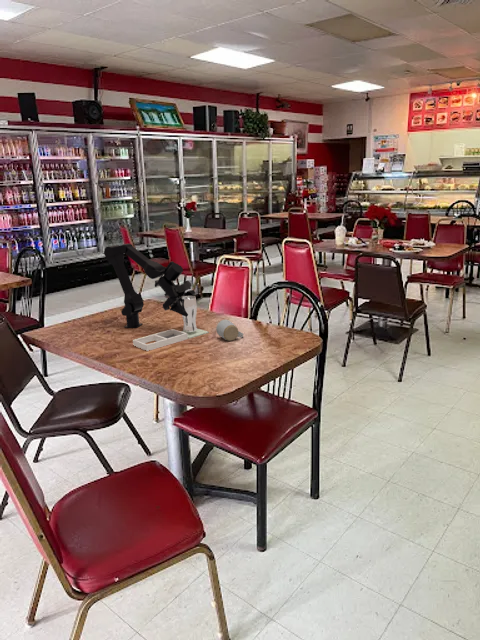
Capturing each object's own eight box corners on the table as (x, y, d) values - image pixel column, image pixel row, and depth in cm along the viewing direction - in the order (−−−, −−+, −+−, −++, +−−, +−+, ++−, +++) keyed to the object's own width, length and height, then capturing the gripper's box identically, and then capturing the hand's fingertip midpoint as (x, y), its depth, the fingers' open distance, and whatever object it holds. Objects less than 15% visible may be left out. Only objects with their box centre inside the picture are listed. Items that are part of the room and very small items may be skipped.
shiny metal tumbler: (193, 327, 218) (191, 294, 214) (200, 330, 213) (198, 297, 208) (179, 329, 215) (177, 297, 211) (186, 333, 209) (184, 300, 205)
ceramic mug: (224, 343, 199) (223, 325, 197) (216, 337, 206) (215, 320, 204) (247, 339, 204) (246, 321, 202) (238, 334, 211) (238, 317, 209)
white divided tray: (147, 351, 193) (146, 345, 193) (133, 345, 201) (132, 340, 200) (208, 332, 214) (208, 327, 214) (194, 328, 222) (193, 323, 221)
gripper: (166, 279, 201) (189, 307, 199) (191, 272, 217) (213, 297, 215) (152, 296, 207) (175, 324, 205) (178, 287, 223) (199, 313, 221)
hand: (191, 314), depth 211 cm, fingers closed on shiny metal tumbler, 6 cm apart
